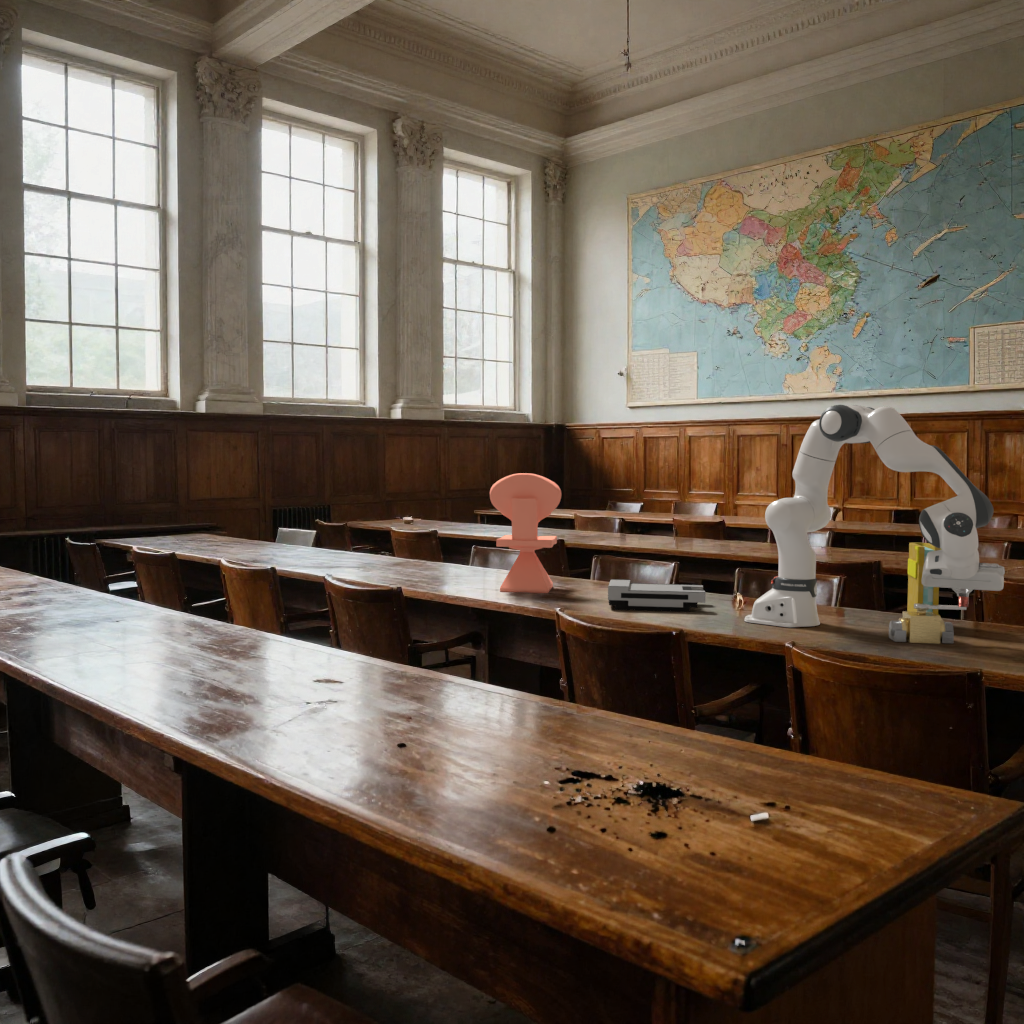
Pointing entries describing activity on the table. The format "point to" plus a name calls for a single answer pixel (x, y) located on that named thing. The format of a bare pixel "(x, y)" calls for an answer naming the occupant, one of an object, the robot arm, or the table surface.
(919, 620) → the valve body
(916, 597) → the book
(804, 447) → the robot arm
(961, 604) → the lever
